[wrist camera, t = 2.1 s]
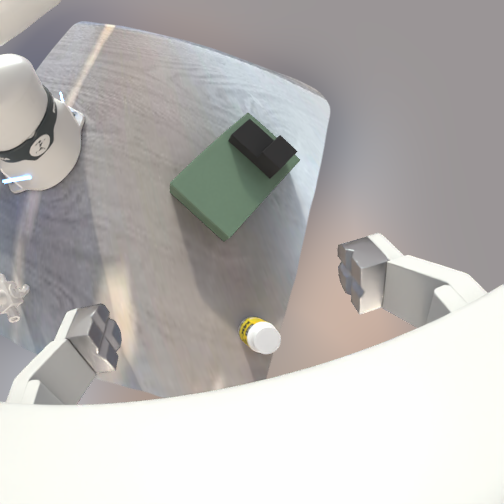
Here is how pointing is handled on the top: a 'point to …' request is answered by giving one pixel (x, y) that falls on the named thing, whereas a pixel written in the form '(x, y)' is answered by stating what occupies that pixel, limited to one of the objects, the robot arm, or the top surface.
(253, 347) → the supplement bottle
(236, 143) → the dark stepped block
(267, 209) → the top surface
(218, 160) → the block
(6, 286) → the toy robot
